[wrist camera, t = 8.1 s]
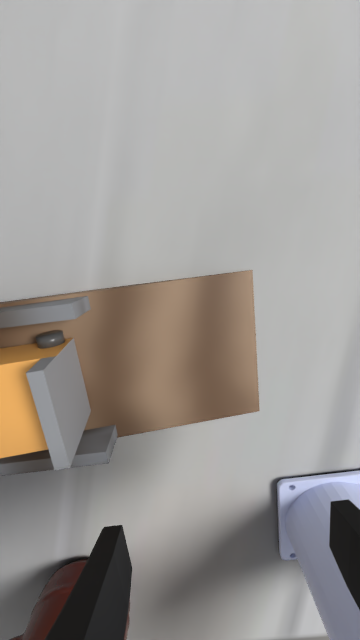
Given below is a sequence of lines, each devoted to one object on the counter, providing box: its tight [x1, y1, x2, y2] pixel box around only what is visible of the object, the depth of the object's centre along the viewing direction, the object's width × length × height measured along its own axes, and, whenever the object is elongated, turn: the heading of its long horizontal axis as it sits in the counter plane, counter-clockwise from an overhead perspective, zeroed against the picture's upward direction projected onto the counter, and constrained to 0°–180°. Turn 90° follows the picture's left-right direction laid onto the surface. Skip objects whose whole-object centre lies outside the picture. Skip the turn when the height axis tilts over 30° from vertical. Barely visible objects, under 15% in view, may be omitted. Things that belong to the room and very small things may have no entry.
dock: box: [0, 270, 259, 476], centre depth 16 cm, size 19×10×5 cm, turn 97°
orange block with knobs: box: [0, 330, 91, 470], centre depth 14 cm, size 6×6×5 cm
